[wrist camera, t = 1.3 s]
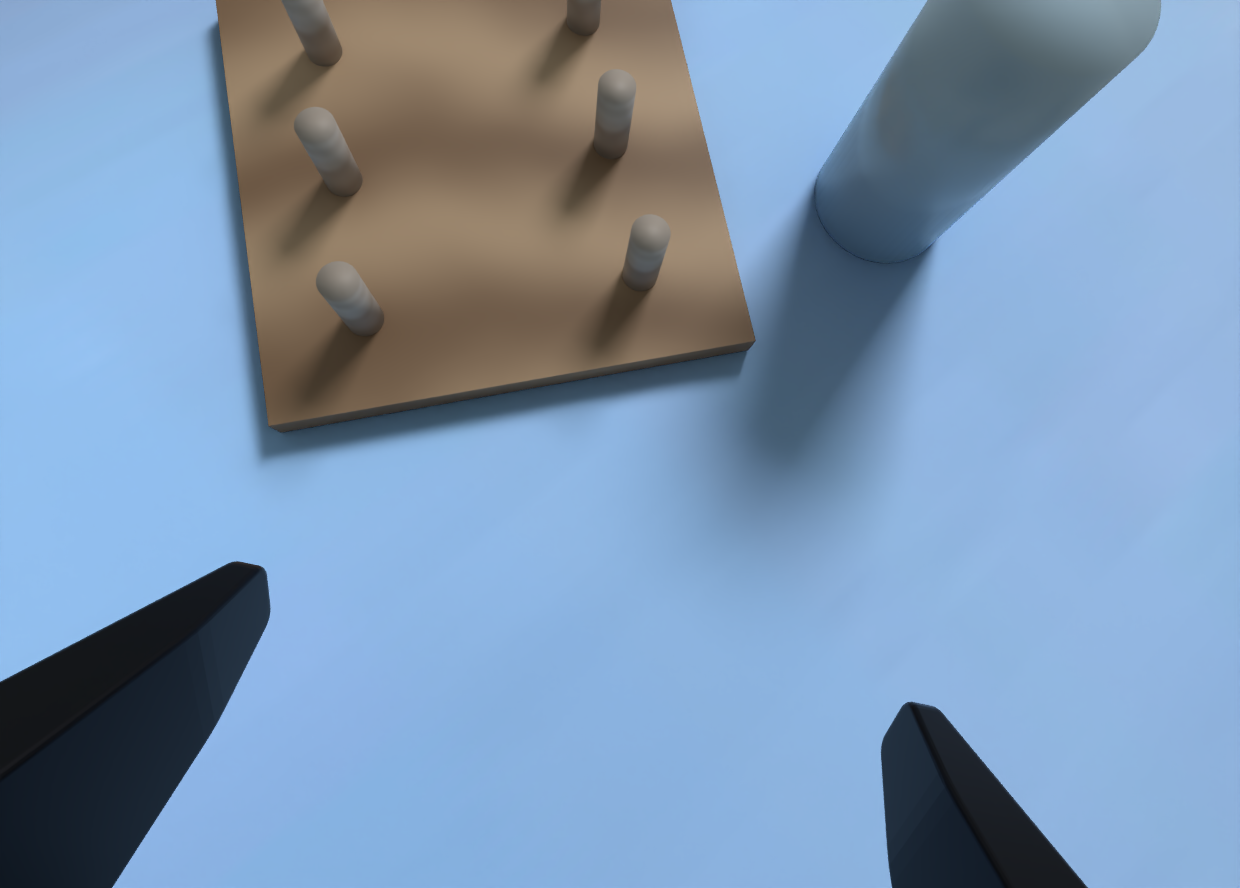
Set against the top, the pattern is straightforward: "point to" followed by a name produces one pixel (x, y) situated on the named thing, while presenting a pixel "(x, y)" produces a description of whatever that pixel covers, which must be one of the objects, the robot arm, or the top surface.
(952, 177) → the grey dome-topped cylinder
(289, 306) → the dish rack
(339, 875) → the top surface
